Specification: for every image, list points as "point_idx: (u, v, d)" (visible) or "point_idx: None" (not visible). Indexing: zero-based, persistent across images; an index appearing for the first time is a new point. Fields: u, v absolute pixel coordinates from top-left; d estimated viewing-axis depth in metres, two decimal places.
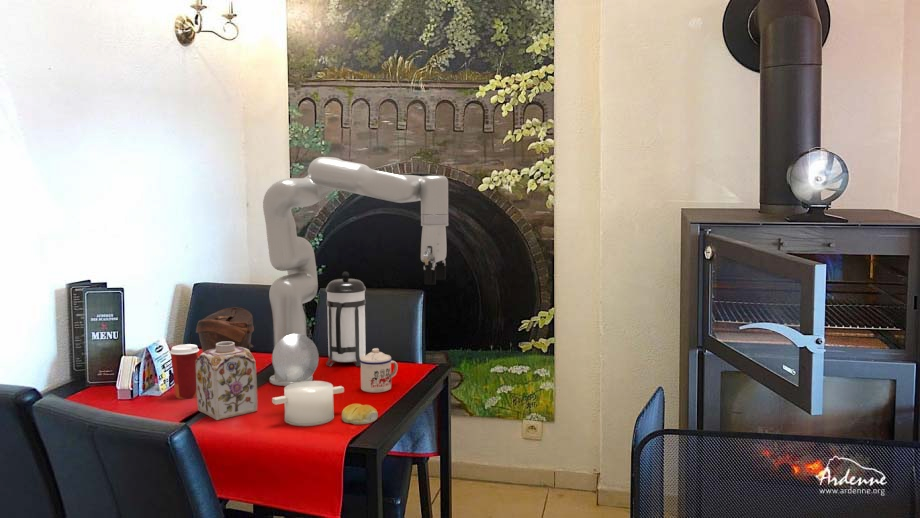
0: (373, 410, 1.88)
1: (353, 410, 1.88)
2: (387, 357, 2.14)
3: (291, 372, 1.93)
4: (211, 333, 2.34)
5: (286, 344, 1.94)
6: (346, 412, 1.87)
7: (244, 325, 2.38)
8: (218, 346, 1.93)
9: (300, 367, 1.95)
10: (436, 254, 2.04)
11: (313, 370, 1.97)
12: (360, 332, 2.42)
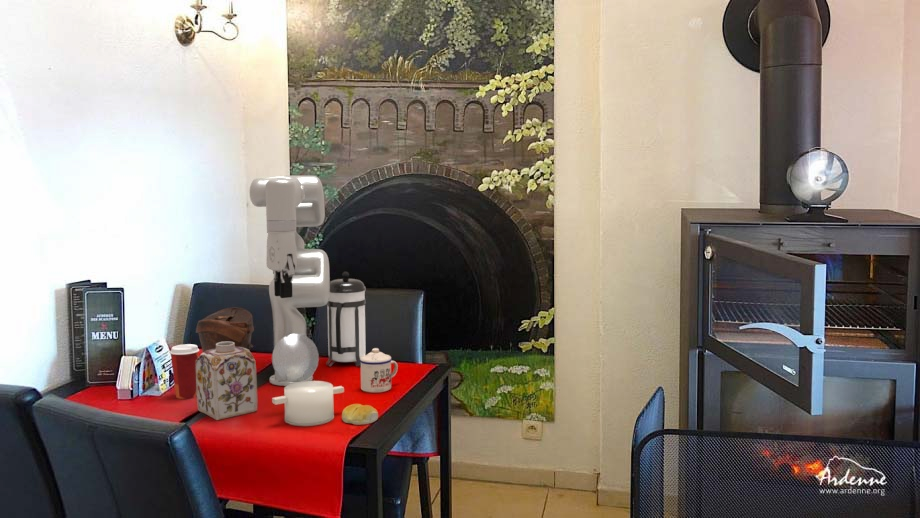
0: (373, 410, 1.88)
1: (353, 410, 1.87)
2: (387, 357, 2.14)
3: (291, 372, 1.93)
4: (211, 333, 2.34)
5: (286, 344, 1.94)
6: (346, 413, 1.87)
7: (244, 325, 2.38)
8: (218, 346, 1.93)
9: (300, 367, 1.95)
10: (296, 262, 1.95)
11: (313, 370, 1.97)
12: (360, 332, 2.42)
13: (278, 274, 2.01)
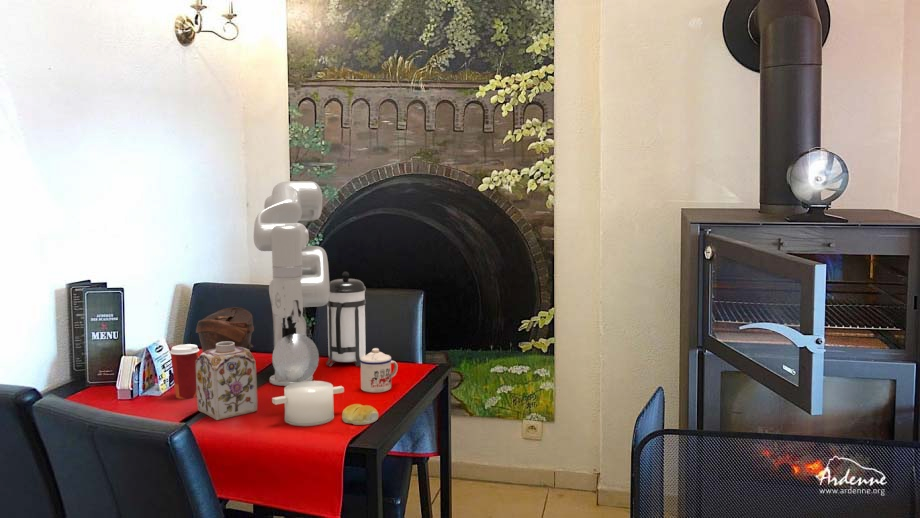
0: (374, 410, 1.88)
1: (354, 410, 1.87)
2: (387, 357, 2.14)
3: (291, 372, 1.93)
4: (211, 333, 2.34)
5: (286, 344, 1.94)
6: (347, 413, 1.87)
7: (244, 325, 2.38)
8: (218, 346, 1.93)
9: (300, 367, 1.95)
10: (302, 308, 1.94)
11: (313, 370, 1.97)
12: (360, 332, 2.42)
13: None
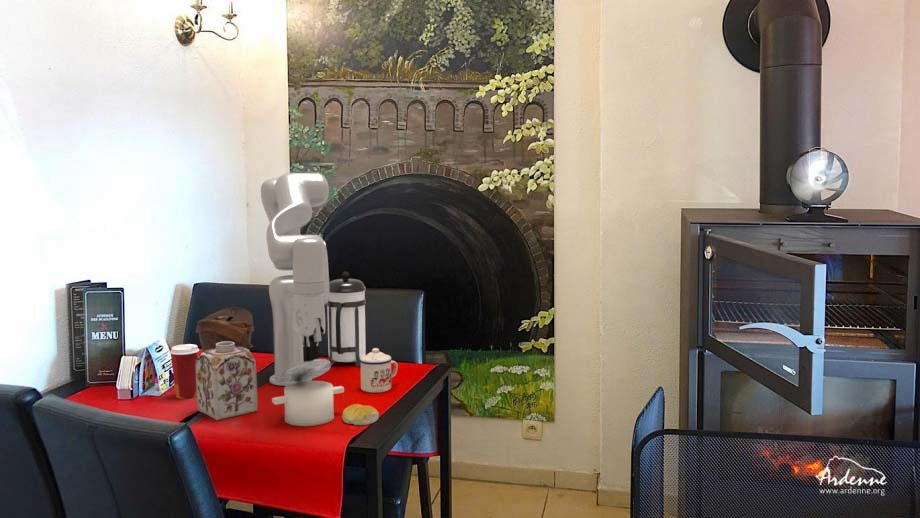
0: (374, 411, 1.88)
1: (354, 410, 1.87)
2: (387, 357, 2.14)
3: (296, 378, 1.91)
4: (211, 333, 2.34)
5: (303, 367, 1.86)
6: (347, 413, 1.86)
7: (244, 325, 2.38)
8: (218, 346, 1.93)
9: (306, 375, 1.92)
10: None
11: (317, 375, 1.95)
12: (360, 332, 2.42)
13: None
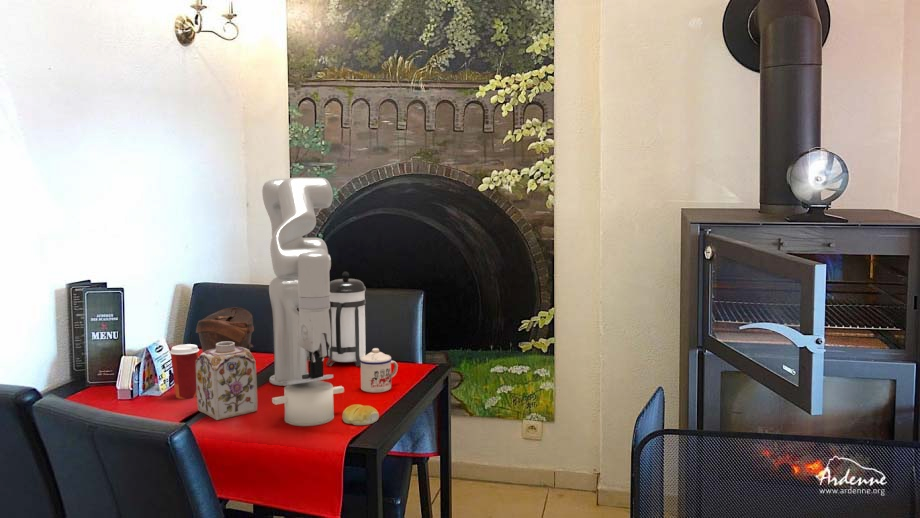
0: (374, 411, 1.87)
1: (354, 411, 1.87)
2: (387, 357, 2.14)
3: None
4: (211, 333, 2.34)
5: None
6: (347, 413, 1.86)
7: (244, 325, 2.38)
8: (218, 346, 1.93)
9: None
10: (330, 341, 1.81)
11: None
12: (360, 332, 2.42)
13: None
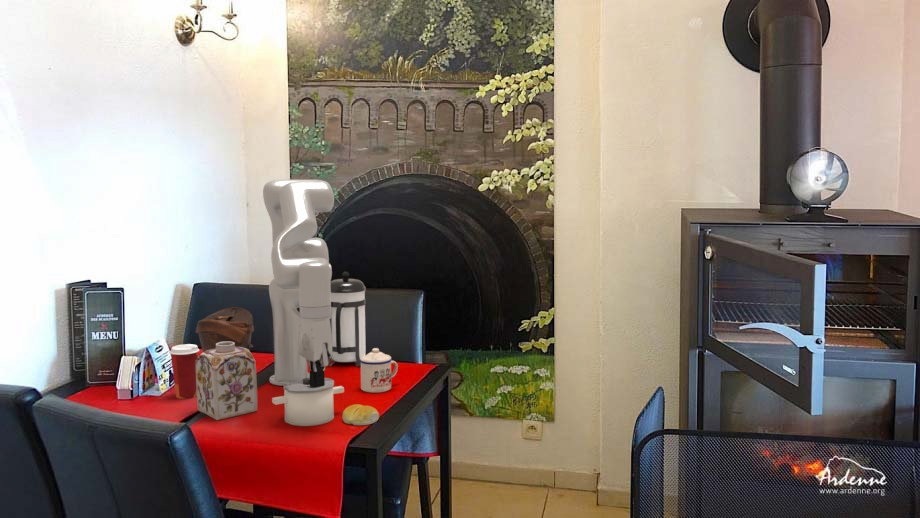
0: (374, 411, 1.87)
1: (354, 411, 1.87)
2: (387, 357, 2.14)
3: None
4: (211, 333, 2.34)
5: None
6: (347, 413, 1.86)
7: (244, 325, 2.38)
8: (218, 346, 1.93)
9: None
10: (331, 350, 1.81)
11: None
12: (360, 332, 2.42)
13: None
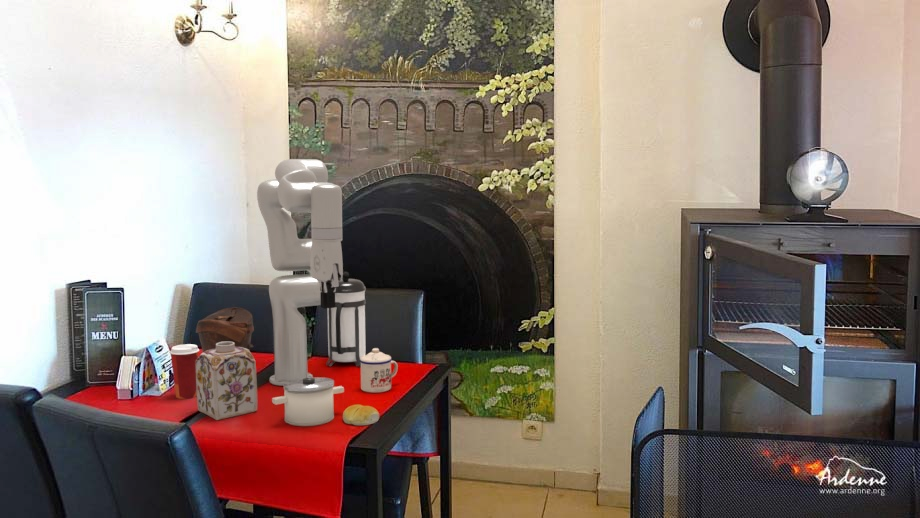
0: (374, 411, 1.87)
1: (355, 411, 1.87)
2: (387, 357, 2.14)
3: None
4: (211, 333, 2.34)
5: None
6: (347, 413, 1.86)
7: (244, 325, 2.38)
8: (218, 346, 1.93)
9: None
10: (342, 272, 1.85)
11: None
12: (360, 332, 2.42)
13: None
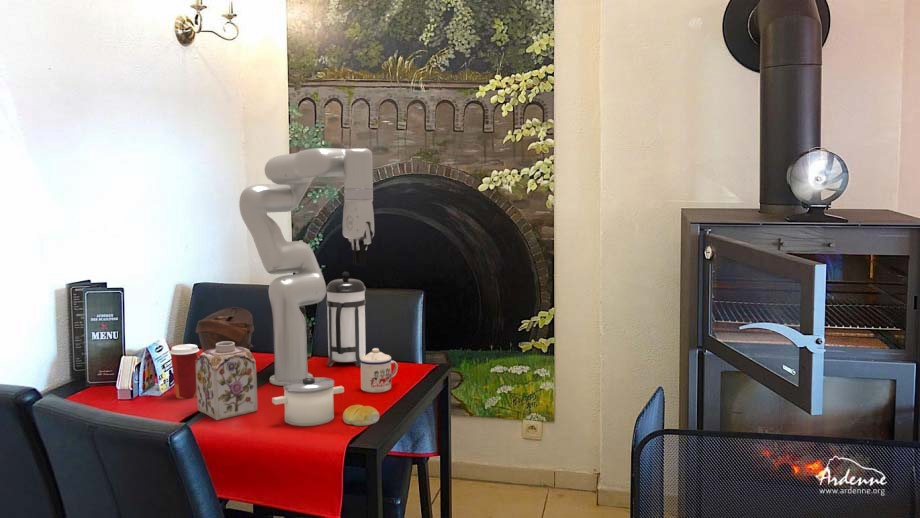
0: (375, 411, 1.87)
1: (355, 411, 1.87)
2: (387, 357, 2.14)
3: None
4: (211, 333, 2.34)
5: None
6: (348, 414, 1.86)
7: (244, 325, 2.38)
8: (218, 346, 1.93)
9: None
10: None
11: None
12: (360, 332, 2.42)
13: None
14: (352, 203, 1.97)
